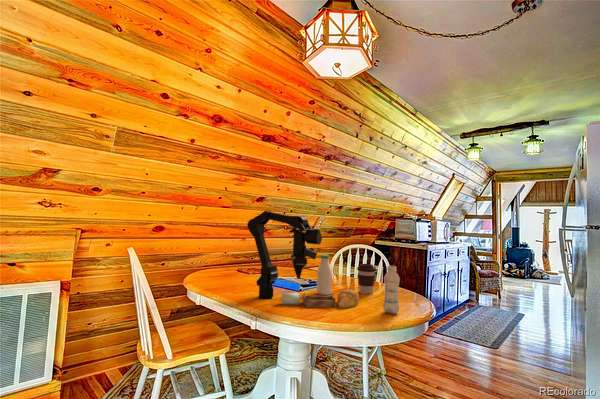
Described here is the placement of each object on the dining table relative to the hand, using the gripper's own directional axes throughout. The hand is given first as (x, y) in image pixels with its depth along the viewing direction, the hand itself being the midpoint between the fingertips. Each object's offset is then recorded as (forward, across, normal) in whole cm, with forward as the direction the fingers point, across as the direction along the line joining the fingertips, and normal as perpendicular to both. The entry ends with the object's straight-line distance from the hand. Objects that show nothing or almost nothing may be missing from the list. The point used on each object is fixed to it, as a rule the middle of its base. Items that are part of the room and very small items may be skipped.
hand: (297, 276), depth 150 cm
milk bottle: (+12, +18, -16) cm, 27 cm away
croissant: (+12, 0, -24) cm, 27 cm away
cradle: (+12, -3, -10) cm, 16 cm away
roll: (+12, -2, +3) cm, 13 cm away
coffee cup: (+12, +20, -39) cm, 45 cm away
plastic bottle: (+12, -15, -39) cm, 44 cm away
